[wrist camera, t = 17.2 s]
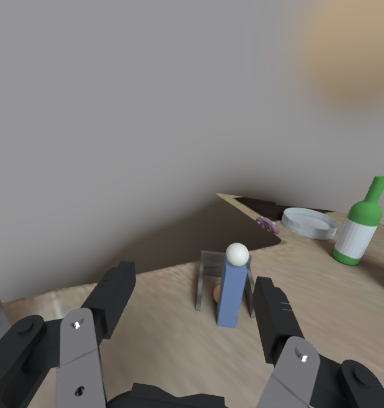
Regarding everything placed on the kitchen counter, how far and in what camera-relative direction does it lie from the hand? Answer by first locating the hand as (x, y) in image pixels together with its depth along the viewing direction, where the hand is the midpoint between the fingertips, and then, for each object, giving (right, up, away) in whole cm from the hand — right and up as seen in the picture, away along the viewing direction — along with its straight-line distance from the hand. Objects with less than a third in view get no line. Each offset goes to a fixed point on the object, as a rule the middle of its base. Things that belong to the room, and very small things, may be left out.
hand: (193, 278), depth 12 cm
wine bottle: (+54, -15, +55) cm, 79 cm away
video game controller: (+33, -7, +72) cm, 79 cm away
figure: (+8, -22, +32) cm, 39 cm away
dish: (+54, -6, +77) cm, 94 cm away
